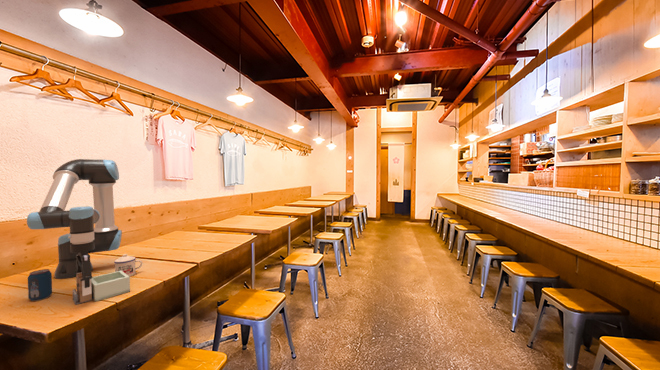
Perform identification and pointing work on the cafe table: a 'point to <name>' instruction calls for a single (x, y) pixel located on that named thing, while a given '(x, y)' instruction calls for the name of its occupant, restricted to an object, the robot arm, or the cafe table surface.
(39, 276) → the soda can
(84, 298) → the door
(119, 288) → the pale green open box
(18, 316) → the cafe table surface
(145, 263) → the cafe table surface
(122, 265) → the teacup with lid
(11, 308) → the cafe table surface
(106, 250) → the robot arm
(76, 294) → the hinge rail
